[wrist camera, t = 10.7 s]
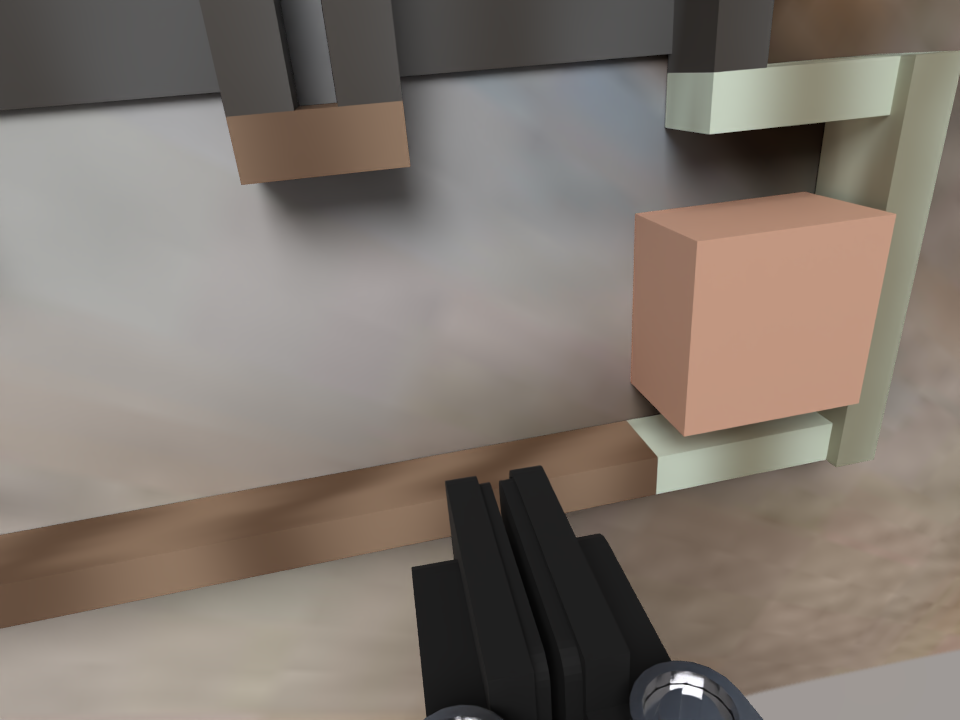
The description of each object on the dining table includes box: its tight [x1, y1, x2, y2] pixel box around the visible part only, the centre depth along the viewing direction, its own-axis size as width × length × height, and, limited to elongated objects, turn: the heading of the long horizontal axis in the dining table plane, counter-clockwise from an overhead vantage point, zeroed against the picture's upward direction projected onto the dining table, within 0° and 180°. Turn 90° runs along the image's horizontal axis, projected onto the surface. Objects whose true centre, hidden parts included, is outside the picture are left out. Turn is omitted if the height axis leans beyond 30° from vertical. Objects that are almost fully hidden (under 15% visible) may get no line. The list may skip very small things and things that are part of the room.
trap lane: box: [0, 0, 960, 628], centre depth 17 cm, size 32×22×3 cm
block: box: [631, 192, 896, 437], centre depth 20 cm, size 6×6×4 cm
